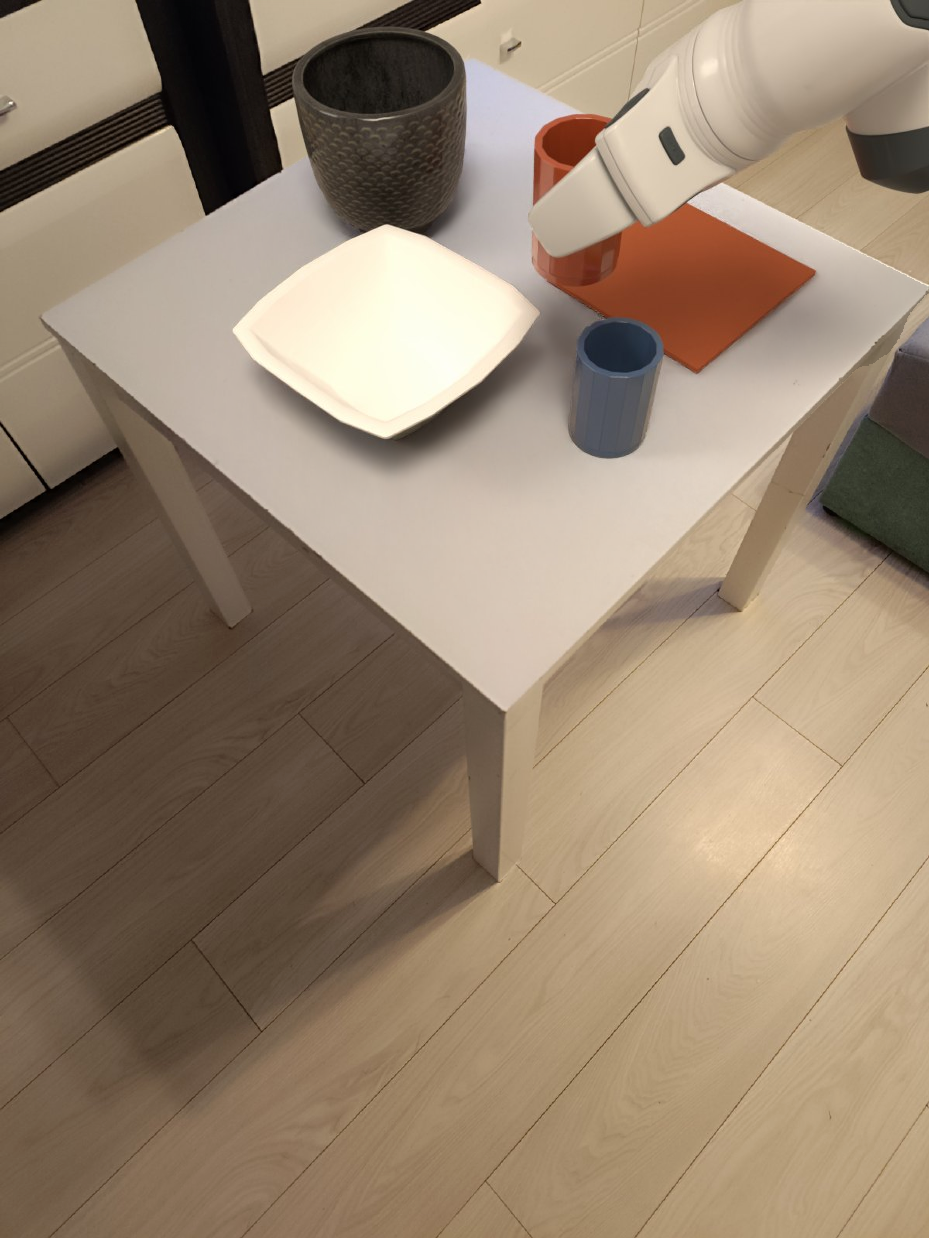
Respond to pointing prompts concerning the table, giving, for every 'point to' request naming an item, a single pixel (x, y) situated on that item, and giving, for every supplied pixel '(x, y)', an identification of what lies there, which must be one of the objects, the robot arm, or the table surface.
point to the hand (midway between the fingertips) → (572, 195)
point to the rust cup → (553, 160)
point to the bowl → (386, 330)
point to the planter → (384, 124)
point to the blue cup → (614, 386)
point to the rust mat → (694, 283)
